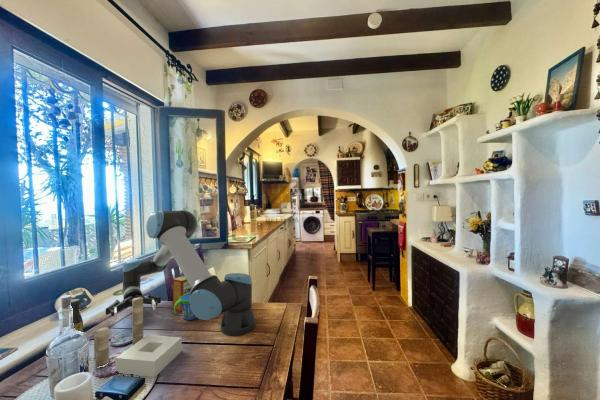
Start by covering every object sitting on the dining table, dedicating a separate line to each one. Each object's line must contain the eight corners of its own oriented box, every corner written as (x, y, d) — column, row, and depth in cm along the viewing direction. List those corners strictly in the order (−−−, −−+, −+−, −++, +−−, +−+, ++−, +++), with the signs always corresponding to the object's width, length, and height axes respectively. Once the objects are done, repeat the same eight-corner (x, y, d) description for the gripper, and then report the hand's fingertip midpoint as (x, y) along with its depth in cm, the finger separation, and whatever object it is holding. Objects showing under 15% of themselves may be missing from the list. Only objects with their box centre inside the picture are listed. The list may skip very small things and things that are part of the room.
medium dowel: (111, 362, 87) (111, 327, 87) (102, 369, 83) (102, 332, 83) (102, 361, 87) (102, 326, 87) (92, 368, 84) (92, 332, 84)
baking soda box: (188, 303, 137) (188, 273, 137) (196, 305, 134) (196, 275, 135) (172, 309, 129) (172, 278, 129) (181, 312, 126) (181, 280, 126)
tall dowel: (145, 343, 98) (145, 297, 98) (138, 348, 95) (138, 301, 95) (137, 342, 99) (137, 297, 99) (130, 348, 95) (130, 300, 95)
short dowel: (109, 354, 91) (109, 332, 91) (100, 360, 88) (100, 337, 88) (100, 353, 92) (100, 331, 92) (91, 359, 88) (91, 336, 88)
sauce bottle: (68, 362, 87) (68, 305, 87) (54, 360, 88) (53, 303, 88) (87, 351, 93) (87, 298, 93) (74, 349, 94) (74, 296, 94)
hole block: (181, 351, 93) (181, 337, 93) (154, 377, 79) (154, 361, 79) (147, 348, 95) (147, 334, 95) (115, 373, 81) (115, 357, 81)
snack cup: (175, 326, 112) (175, 303, 112) (172, 317, 120) (172, 296, 120) (211, 317, 120) (211, 295, 120) (206, 309, 129) (206, 289, 129)
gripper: (162, 298, 128) (169, 312, 111) (99, 311, 114) (97, 330, 96) (162, 283, 128) (169, 295, 111) (99, 294, 114) (97, 310, 97)
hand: (135, 311), depth 104 cm, fingers open, 13 cm apart
